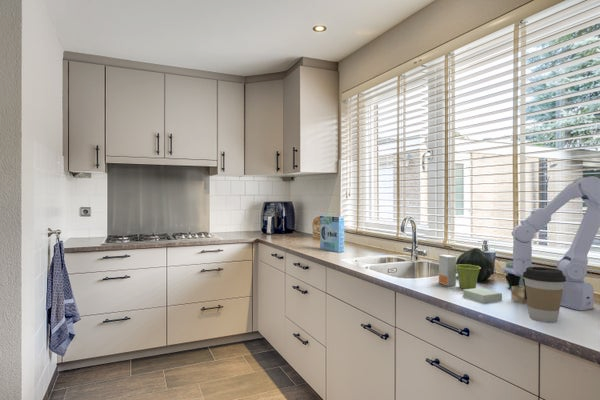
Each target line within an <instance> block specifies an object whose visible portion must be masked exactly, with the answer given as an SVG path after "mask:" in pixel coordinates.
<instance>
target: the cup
mask: <svg viewBox="0 0 600 400" xmlns="http://www.w3.org/2000/svg"><path fill="white" fill-rule="evenodd" d="M505 268H511V269H513V261H507V262H506V263H505ZM507 275H508V274H506V273H505V276H507ZM523 279H524V277H521V278H520V281H519V285H521V286H524V282H523ZM505 280H506V285H507V286H508V287H509V288H510V285H509V283H508V281H507V279H506V278H505Z"/></svg>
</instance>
